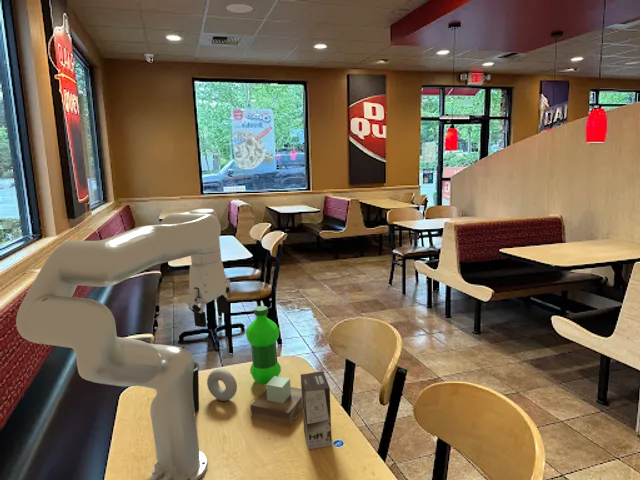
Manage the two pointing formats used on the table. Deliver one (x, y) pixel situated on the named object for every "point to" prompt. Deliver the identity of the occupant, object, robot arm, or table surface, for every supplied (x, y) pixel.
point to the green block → (278, 389)
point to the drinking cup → (195, 386)
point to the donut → (215, 387)
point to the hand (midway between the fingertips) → (212, 319)
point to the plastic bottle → (263, 346)
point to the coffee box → (316, 409)
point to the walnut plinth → (278, 408)
